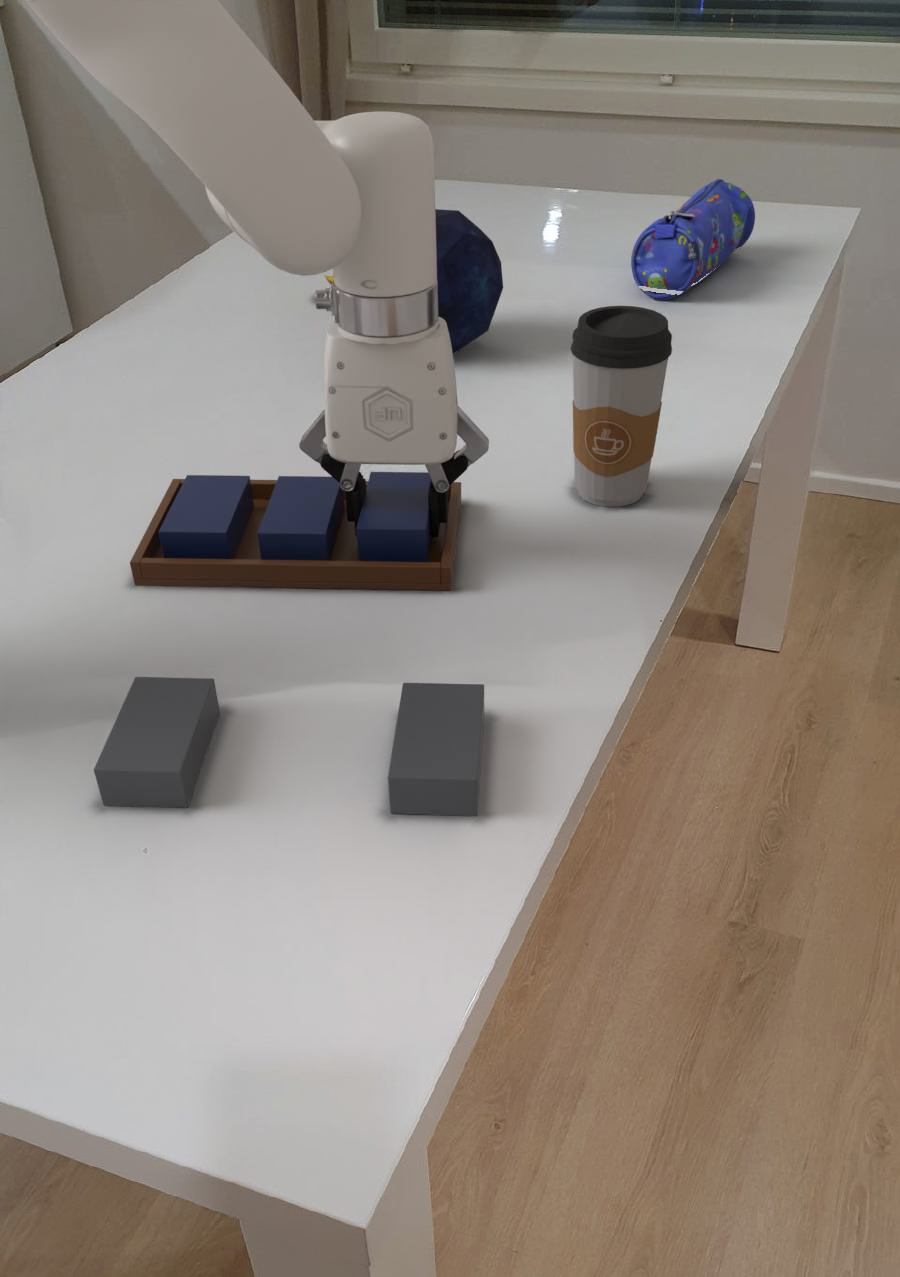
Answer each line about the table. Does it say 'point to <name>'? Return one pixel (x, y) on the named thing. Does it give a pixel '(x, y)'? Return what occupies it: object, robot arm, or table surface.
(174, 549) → the navy book
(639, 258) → the pencil case
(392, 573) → the book tray
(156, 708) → the grey book
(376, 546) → the navy book
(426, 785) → the grey book
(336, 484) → the navy book
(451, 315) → the decorative orb
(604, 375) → the coffee cup
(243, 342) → the table surface
